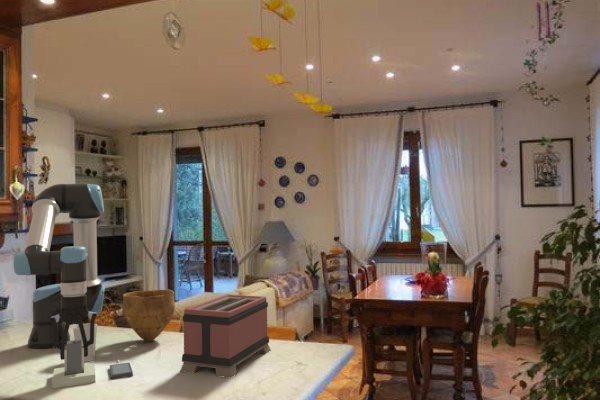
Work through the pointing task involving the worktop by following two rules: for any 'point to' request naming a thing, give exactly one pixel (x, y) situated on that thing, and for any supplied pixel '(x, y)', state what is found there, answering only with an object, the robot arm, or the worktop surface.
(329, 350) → the worktop surface
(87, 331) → the cup
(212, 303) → the toaster
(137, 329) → the bowl
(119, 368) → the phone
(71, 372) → the block
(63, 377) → the outlet plate
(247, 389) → the worktop surface
